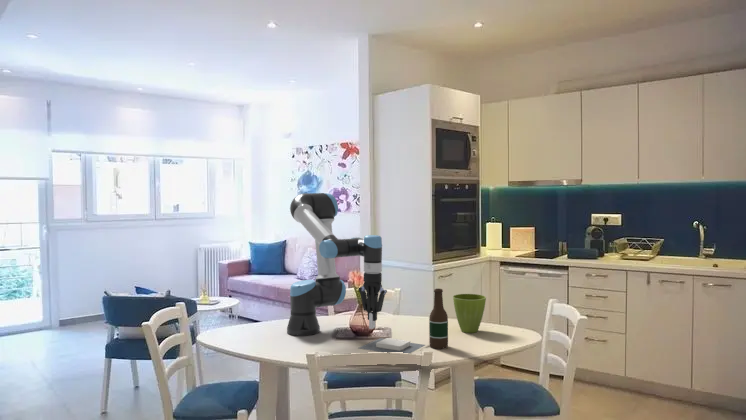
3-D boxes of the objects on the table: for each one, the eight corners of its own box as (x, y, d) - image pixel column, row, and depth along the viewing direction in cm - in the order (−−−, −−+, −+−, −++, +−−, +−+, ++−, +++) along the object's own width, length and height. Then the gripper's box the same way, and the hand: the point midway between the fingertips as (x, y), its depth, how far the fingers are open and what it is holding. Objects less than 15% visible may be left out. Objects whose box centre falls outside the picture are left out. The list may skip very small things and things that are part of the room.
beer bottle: (427, 344, 232) (427, 287, 231) (446, 344, 232) (445, 287, 232) (431, 349, 224) (430, 290, 223) (450, 349, 225) (449, 290, 224)
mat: (357, 349, 225) (357, 348, 225) (380, 339, 241) (380, 338, 241) (404, 357, 214) (404, 355, 214) (425, 346, 229) (425, 344, 229)
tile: (376, 342, 226) (399, 346, 220) (387, 337, 234) (410, 341, 228) (376, 347, 226) (399, 351, 220) (387, 342, 234) (410, 345, 228)
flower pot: (493, 332, 252) (492, 297, 251) (469, 337, 244) (469, 301, 243) (469, 325, 264) (469, 292, 264) (446, 330, 256) (446, 296, 255)
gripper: (354, 272, 232) (354, 327, 233) (381, 275, 225) (380, 332, 226) (364, 269, 238) (364, 323, 239) (390, 272, 231) (390, 328, 232)
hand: (372, 327), depth 232 cm, fingers closed
